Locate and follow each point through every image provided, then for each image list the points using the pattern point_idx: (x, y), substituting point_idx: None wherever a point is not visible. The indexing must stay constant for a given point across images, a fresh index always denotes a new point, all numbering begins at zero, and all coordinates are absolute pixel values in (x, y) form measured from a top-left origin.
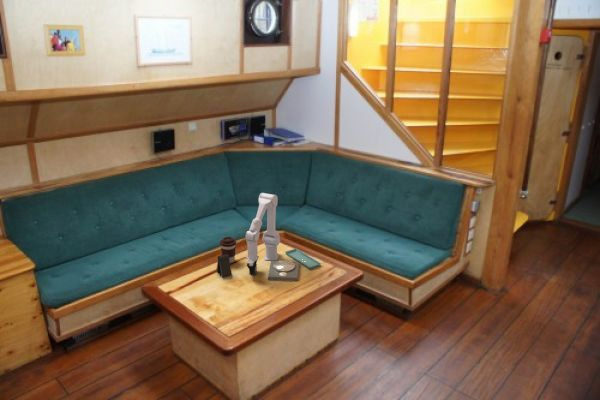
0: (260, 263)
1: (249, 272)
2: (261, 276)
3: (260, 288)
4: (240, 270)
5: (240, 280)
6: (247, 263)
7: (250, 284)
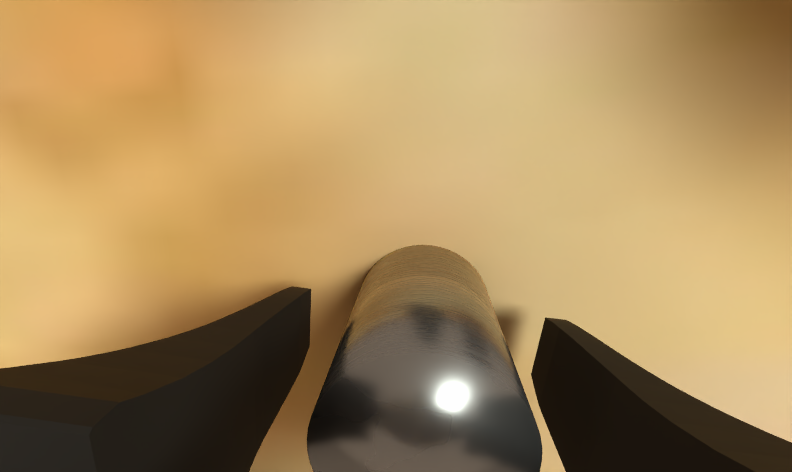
0: (769, 422)
1: (394, 264)
2: None
3: None
4: (574, 66)
5: (172, 93)
6: (57, 444)
7: (78, 266)
